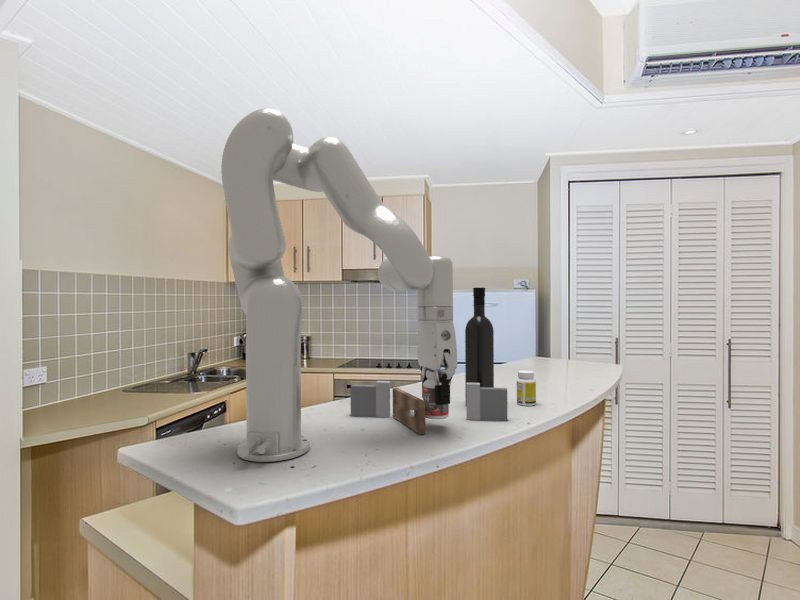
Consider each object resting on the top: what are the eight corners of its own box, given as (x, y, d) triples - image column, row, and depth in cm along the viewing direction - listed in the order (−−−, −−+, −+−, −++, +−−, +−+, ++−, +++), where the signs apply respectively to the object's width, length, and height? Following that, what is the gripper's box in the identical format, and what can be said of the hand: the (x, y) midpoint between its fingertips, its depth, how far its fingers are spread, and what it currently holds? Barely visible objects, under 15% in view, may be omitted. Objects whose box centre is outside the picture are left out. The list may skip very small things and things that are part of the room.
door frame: (507, 421, 101) (507, 385, 101) (350, 416, 105) (350, 381, 105) (506, 418, 103) (506, 383, 103) (352, 413, 107) (352, 380, 107)
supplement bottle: (538, 403, 117) (538, 371, 117) (533, 407, 113) (532, 373, 113) (519, 401, 120) (519, 369, 120) (514, 404, 116) (514, 372, 116)
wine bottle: (478, 402, 118) (478, 288, 118) (495, 406, 114) (495, 287, 114) (463, 406, 115) (463, 287, 115) (480, 410, 110) (480, 287, 110)
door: (387, 416, 104) (387, 388, 104) (397, 415, 105) (397, 387, 105) (414, 435, 90) (414, 402, 90) (425, 433, 91) (425, 401, 91)
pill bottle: (418, 418, 95) (418, 371, 95) (430, 412, 99) (430, 367, 99) (441, 421, 92) (441, 373, 92) (453, 415, 96) (452, 369, 96)
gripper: (471, 316, 89) (472, 408, 89) (433, 313, 105) (433, 391, 105) (437, 317, 86) (438, 412, 86) (403, 314, 102) (403, 394, 102)
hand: (435, 400), depth 96 cm, fingers closed on pill bottle, 5 cm apart
